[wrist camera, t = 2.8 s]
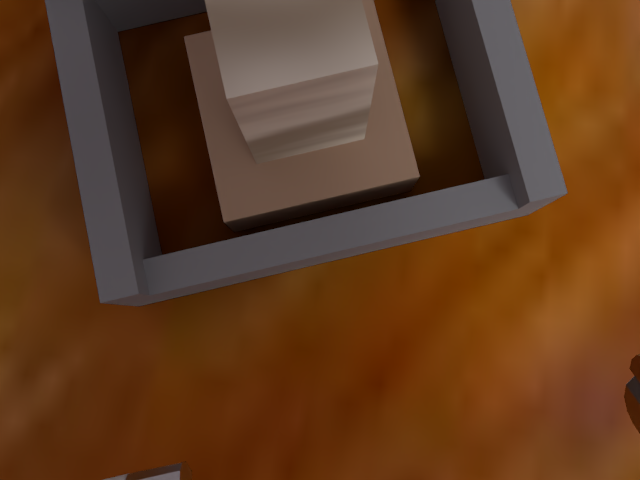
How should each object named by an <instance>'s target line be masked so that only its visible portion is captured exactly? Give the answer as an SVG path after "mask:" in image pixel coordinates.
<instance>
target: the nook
mask: <svg viewBox="0 0 640 480" xmlns="http://www.w3.org/2000/svg"><path fill="white" fill-rule="evenodd" d="M362 3H363V7H364V10H365V14H366V18H367V22H368V26H369V30H370V33H371V37H372V41H373V45H374V49H375V53H376V56H377V60H378V69H377V75H376V80H375V85H374V91H373V96H372V101H371V107H370V112H369V117H368V123H367V128H366V134H365V139H363V140H358V141H354V142H350V143H346V144H341V145H337V146H333V147H328V148H324V149H320V150H315V151H311V152H307V153H302V154H298V155H294V156H290V157H285V158H281V159H277V160H272V161H268V162H264V163H259V164H256V162H255V160H254V157H253V155H252V153H251V151H250V149H249V147H248V144H247V142H246V140H245V138H244V136H243V134H242V131H241V129H240V127H239V125H238V123H237V121H236V118H235V116H234V114H233V112H232V110H231V108H230V105H229V103H228V101H227V99H226V94H225V90H224V85H223V81H222V76H221V72H220V67H219V63H218V58H217V54H216V49H215V45H214V40H213V36H212V31H211V30H210V31H206V32H201V33H197V34H193V35H188V36H184V40H185V45H186V50H187V54H188V59H189V64H190V68H191V73H192V78H193V82H194V87H195V91H196V96H197V101H198V105H199V110H200V115H201V119H202V124H203V129H204V133H205V138H206V143H207V147H208V152H209V157H210V161H211V166H212V171H213V175H214V180H215V184H216V189H217V194H218V198H219V203H220V208H221V212H222V217H223V222H224V223H225V224H226V225H227V226H228V227H229V228H230V229H231V230H232V231H233V232H237V231H242V230H246V229H250V228H254V227H259V226H263V225H267V224H271V223H276V222H280V221H284V220H289V219H293V218H297V217H301V216H306V215H310V214H314V213H319V212H323V211H327V210H331V209H336V208H340V207H344V206H348V205H353V204H357V203H361V202H366V201H370V200H374V199H378V198H383V197H387V196H391V195H396V194H400V193H404V192H408V191H411V190H412V188H413V187H414V185H415V184H416V182H417V180H418V179H419V177H420V175H419V171H418V167H417V163H416V160H415V156H414V152H413V148H412V144H411V141H410V137H409V133H408V129H407V126H406V122H405V118H404V114H403V110H402V107H401V103H400V99H399V95H398V91H397V88H396V84H395V80H394V76H393V73H392V69H391V65H390V61H389V57H388V54H387V50H386V46H385V42H384V38H383V35H382V31H381V27H380V23H379V20H378V16H377V12H376V8H375V4H374V1H373V0H362ZM435 3H436V7H437V10H438V14H439V17H440V21H441V24H442V28H443V32H444V35H445V39H446V42H447V46H448V49H449V53H450V57H451V60H452V64H453V67H454V71H455V75H456V78H457V82H458V85H459V89H460V92H461V96H462V100H463V103H464V107H465V110H466V114H467V118H468V121H469V125H470V128H471V132H472V135H473V139H474V143H475V146H476V150H477V153H478V157H479V161H480V164H481V168H482V171H483V175H484V178H485V180H481V181H476V182H472V183H468V184H464V185H459V186H455V187H451V188H447V189H442V190H438V191H434V192H429V193H425V194H421V195H417V196H412V197H408V198H404V199H400V200H395V201H391V202H387V203H382V204H378V205H374V206H370V207H365V208H361V209H357V210H353V211H348V212H344V213H340V214H335V215H331V216H327V217H323V218H318V219H314V220H310V221H306V222H301V223H297V224H293V225H288V226H284V227H280V228H276V229H271V230H267V231H263V232H259V233H254V234H250V235H246V236H241V237H237V238H233V239H229V240H224V241H220V242H216V243H212V244H207V245H203V246H199V247H194V248H190V249H186V250H182V251H177V252H173V253H169V254H164V255H162V252H161V247H160V242H159V237H158V232H157V227H156V222H155V217H154V212H153V207H152V202H151V196H150V191H149V186H148V181H147V176H146V171H145V166H144V161H143V156H142V151H141V146H140V141H139V136H138V131H137V126H136V121H135V116H134V111H133V106H132V101H131V96H130V91H129V86H128V81H127V76H126V71H125V66H124V61H123V56H122V51H121V46H120V41H119V36H118V32H119V31H124V30H128V29H132V28H137V27H141V26H146V25H150V24H154V23H159V22H163V21H167V20H172V19H176V18H181V17H185V16H189V15H194V14H198V13H203V12H207V9H206V4H205V0H45V4H46V9H47V14H48V20H49V25H50V31H51V36H52V42H53V47H54V53H55V58H56V64H57V69H58V75H59V80H60V86H61V91H62V97H63V102H64V108H65V113H66V119H67V124H68V129H69V135H70V140H71V146H72V151H73V157H74V162H75V168H76V173H77V179H78V184H79V190H80V195H81V201H82V206H83V212H84V217H85V223H86V228H87V233H88V239H89V244H90V250H91V255H92V261H93V266H94V272H95V277H96V283H97V288H98V294H99V299H100V303H106V304H117V305H129V306H143V305H147V304H151V303H155V302H160V301H164V300H168V299H172V298H177V297H181V296H185V295H189V294H194V293H198V292H202V291H206V290H211V289H215V288H219V287H223V286H228V285H232V284H236V283H240V282H245V281H249V280H253V279H257V278H262V277H266V276H270V275H274V274H279V273H283V272H287V271H291V270H296V269H300V268H304V267H308V266H313V265H317V264H321V263H325V262H330V261H334V260H338V259H342V258H347V257H351V256H355V255H359V254H364V253H368V252H372V251H377V250H381V249H385V248H389V247H394V246H398V245H402V244H406V243H411V242H415V241H419V240H423V239H428V238H432V237H436V236H440V235H445V234H449V233H453V232H457V231H462V230H466V229H470V228H474V227H479V226H483V225H487V224H491V223H496V222H500V221H504V220H508V219H513V218H517V217H521V216H525V215H529V214H531V213H532V212H534V211H536V210H538V209H540V208H542V207H543V206H545V205H547V204H549V203H551V202H553V201H554V200H556V199H558V198H560V197H562V196H564V195H565V194H567V193H568V192H567V189H566V186H565V182H564V179H563V176H562V172H561V169H560V166H559V162H558V159H557V155H556V152H555V149H554V145H553V142H552V139H551V135H550V132H549V129H548V125H547V122H546V119H545V115H544V112H543V108H542V105H541V102H540V98H539V95H538V92H537V88H536V85H535V82H534V78H533V75H532V72H531V68H530V65H529V61H528V58H527V55H526V51H525V48H524V45H523V41H522V38H521V35H520V31H519V28H518V25H517V21H516V18H515V15H514V11H513V8H512V4H511V1H510V0H435Z"/></svg>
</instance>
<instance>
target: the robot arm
mask: <svg viewBox="0 0 640 480" xmlns="http://www.w3.org/2000/svg"><path fill="white" fill-rule="evenodd" d="M630 370H631V371H632V373H633V374H634V377H633V378H632V379H631V380H630V381H629V382H628V383H627V384H626V388H625V394H624V399H625V403H626V408H627V412H628V414H629V416H630V418H631V420H632V422H633V424H634V426H635V427H636V429H637V430H638V432H639V433H640V354H638V355H636V356H635V357H634V358H633V359H632V360H631V365H630ZM104 480H192V470H191V469H190V467H189V465H188V464H187V462H186V461H185V462H180V463H176V464H171V465H167V466H162V467H158V468H153V469H149V470H144V471H140V472H135V473H131V474H125V475H121V476H116V477H112V478H108V479H104Z"/></svg>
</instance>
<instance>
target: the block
mask: <svg viewBox="0 0 640 480" xmlns="http://www.w3.org/2000/svg"><path fill="white" fill-rule="evenodd" d="M205 4H206V9H207V13H208V18H209V22H210V27H211V31H212V36H213V40H214V45H215V49H216V54H217V58H218V63H219V67H220V72H221V76H222V81H223V85H224V90H225V94H226V99H227V101H228V103H229V105H230V108H231V110H232V112H233V114H234V116H235V118H236V121H237V123H238V125H239V127H240V129H241V131H242V134H243V136H244V138H245V140H246V142H247V144H248V147H249V149H250V151H251V153H252V155H253V157H254V160H255V162H256V164H259V163H264V162H268V161H272V160H277V159H281V158H285V157H290V156H294V155H298V154H302V153H307V152H311V151H315V150H320V149H324V148H328V147H333V146H337V145H341V144H346V143H350V142H354V141H358V140H363V139H365V134H366V128H367V123H368V117H369V112H370V107H371V101H372V96H373V91H374V85H375V80H376V75H377V69H378V60H377V56H376V53H375V49H374V45H373V41H372V37H371V33H370V30H369V26H368V22H367V18H366V14H365V10H364V7H363V3H362V0H205Z"/></svg>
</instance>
